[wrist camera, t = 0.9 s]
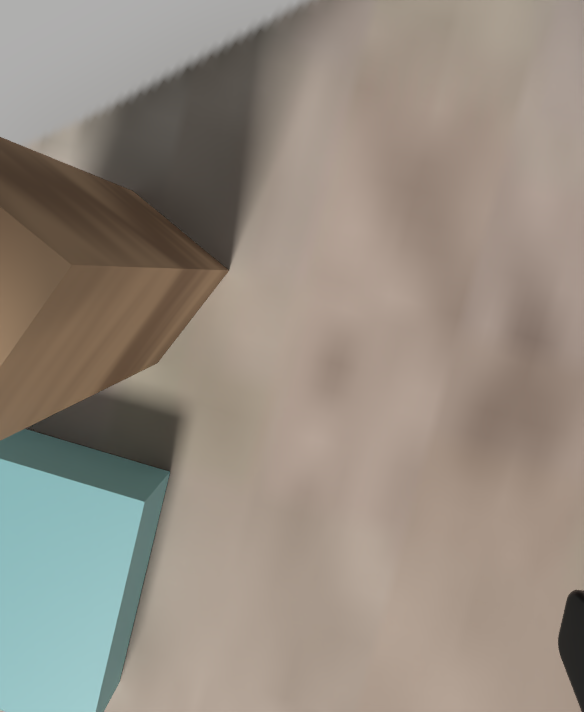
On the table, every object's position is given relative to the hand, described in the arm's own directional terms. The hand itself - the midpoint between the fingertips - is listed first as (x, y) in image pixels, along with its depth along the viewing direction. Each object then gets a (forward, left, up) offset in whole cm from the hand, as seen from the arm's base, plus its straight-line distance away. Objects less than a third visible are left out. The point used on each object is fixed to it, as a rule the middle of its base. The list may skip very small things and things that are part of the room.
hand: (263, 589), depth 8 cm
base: (-6, +14, -14) cm, 20 cm away
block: (+5, +6, -14) cm, 16 cm away
